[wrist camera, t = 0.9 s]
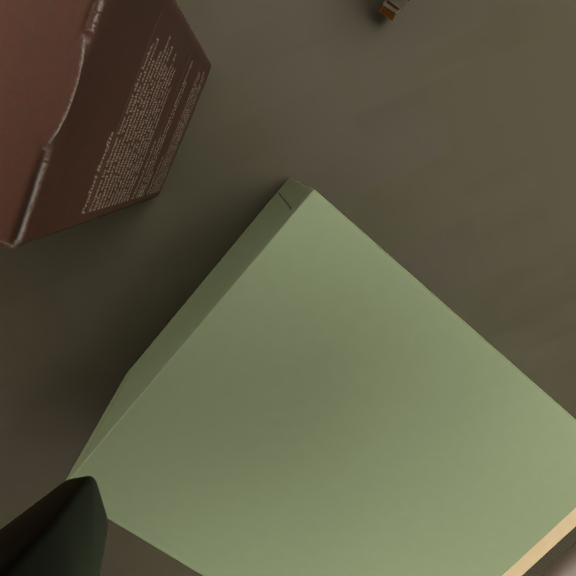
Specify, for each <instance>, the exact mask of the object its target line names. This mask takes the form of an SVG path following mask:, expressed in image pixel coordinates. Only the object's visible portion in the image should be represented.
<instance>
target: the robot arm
mask: <svg viewBox="0 0 576 576" xmlns="http://www.w3.org/2000/svg"><path fill="white" fill-rule="evenodd" d="M107 531H108V520H107V515H106V511H105V508H104V505H103V501H102V498H101V495H100V491H99V488H98V485H97V482H96V480H95V479H94V478H93V477H92V476H84V477H78V478H73V479H69V480H66V481H65V482H63V483H62V484H61V485H59V486H58V487H57V488H55V489H54V490H53V491H51V492H50V493H49V494H47V495H46V496H45V497H43V498H42V499H41V500H39V501H38V502H37V503H35V504H34V505H33V506H31V507H30V508H29V509H27V510H26V511H25V512H23V513H22V514H21V515H19V516H18V517H17V518H15V519H14V520H13V521H11V522H10V523H9V524H7V525H6V526H5V527H3V528H2V529H1V530H0V576H99V575H100V570H101V564H102V559H103V553H104V548H105V542H106V537H107Z"/></svg>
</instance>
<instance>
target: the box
mask: <svg viewBox="0 0 576 576" xmlns="http://www.w3.org/2000/svg"><path fill="white" fill-rule="evenodd" d="M210 67H211V63H210V62H209V60H208V58H207V57H206V55H205V53H204V51H203V49H202V47H201V46H200V44H199V42H198V40H197V39H196V36H195V35H194V33H193V31H192V30H191V28H190V26H189V24H188V23H187V21H186V19H185V17H184V15H183V14H182V12H181V10H180V8H179V7H178V5H177V3H176V1H175V0H0V244H2V245H4V246H6V247H8V248H17V247H19V246H22V245H24V244H26V243H29V242H31V241H34V240H36V239H40V238H42V237H45V236H47V235H50V234H53V233H56V232H59V231H62V230H64V229H67V228H70V227H72V226H75V225H78V224H81V223H84V222H87V221H89V220H92V219H94V218H97V217H100V216H103V215H106V214H108V213H111V212H113V211H117V210H119V209H123V208H125V207H128V206H131V205H133V204H136V203H139V202H142V201H144V200H148V199H151V198H153V197H156V196H157V195H158V194H159V191H160V189H161V187H162V185H163V183H164V180H165V178H166V176H167V173H168V171H169V169H170V166H171V164H172V161H173V159H174V156H175V154H176V152H177V149H178V147H179V145H180V142H181V140H182V138H183V135H184V132H185V130H186V128H187V125H188V123H189V120H190V118H191V115H192V113H193V110H194V108H195V105H196V103H197V100H198V98H199V95H200V93H201V90H202V88H203V86H204V83H205V81H206V78H207V75H208V72H209V70H210Z"/></svg>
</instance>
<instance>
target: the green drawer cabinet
mask: <svg viewBox="0 0 576 576" xmlns="http://www.w3.org/2000/svg"><path fill="white" fill-rule="evenodd" d="M84 476H92V477H93V478H94V479H95V480H96V482H97V485H98V488H99V491H100V495H101V498H102V501H103V505H104V508H105V511H106V515H107V518H108V519H109V520H111V521H113V522H114V523H116V524H118V525H119V526H121V527H123V528H124V529H126V530H128V531H129V532H131V533H133V534H134V535H136V536H138V537H139V538H141V539H143V540H144V541H146V542H148V543H149V544H151V545H153V546H154V547H156V548H158V549H159V550H161V551H163V552H164V553H166V554H168V555H169V556H171V557H173V558H174V559H176V560H178V561H179V562H181V563H183V564H184V565H186V566H188V567H189V568H191V569H193V570H194V571H196V572H198V573H199V574H201V575H203V576H502V575H503V574H504V573H506V572H507V571H508V570H509V569H510V568H511V567H512V566H513V565H514V564H515V563H516V562H517V561H519V560H520V559H521V558H522V557H523V556H524V555H525V554H526V553H527V552H528V551H529V550H530V549H532V548H533V547H534V546H535V545H536V544H537V543H538V542H539V541H540V540H541V539H542V538H543V537H545V536H546V535H547V534H548V533H549V532H550V531H551V530H552V529H553V528H554V527H555V526H556V525H558V524H559V523H560V522H561V521H562V520H563V519H564V518H565V517H566V516H567V515H568V514H569V513H571V512H572V511H573V510H574V509H575V508H576V419H575V418H573V417H572V416H571V415H570V414H569V413H568V412H567V411H566V410H564V409H563V408H562V407H561V406H560V405H559V404H558V403H556V402H555V401H554V400H553V399H552V398H551V397H550V396H548V395H547V394H546V393H545V392H544V391H543V390H542V389H541V388H539V387H538V386H537V385H536V384H535V383H534V382H533V381H531V380H530V379H529V378H528V377H527V376H526V375H525V374H524V373H522V372H521V371H520V370H519V369H518V368H517V367H516V366H514V365H513V364H512V363H511V362H510V361H509V360H508V359H507V358H505V357H504V356H503V355H502V354H501V353H500V352H499V351H497V350H496V349H495V348H494V347H493V346H492V345H491V344H490V343H488V342H487V341H486V340H485V339H484V338H483V337H482V336H480V335H479V334H478V333H477V332H476V331H475V330H474V329H473V328H471V327H470V326H469V325H468V324H467V323H466V322H465V321H463V320H462V319H461V318H460V317H459V316H458V315H457V314H455V313H454V312H453V311H452V310H451V309H450V308H449V307H448V306H446V305H445V304H444V303H443V302H442V301H441V300H440V299H438V298H437V297H436V296H435V295H434V294H433V293H432V292H431V291H429V290H428V289H427V288H426V287H425V286H424V285H423V284H421V283H420V282H419V281H418V280H417V279H416V278H415V277H414V276H412V275H411V274H410V273H409V272H408V271H407V270H406V269H404V268H403V267H402V266H401V265H400V264H399V263H398V262H397V261H395V260H394V259H393V258H392V257H391V256H390V255H389V254H387V253H386V252H385V251H384V250H383V249H382V248H381V247H379V246H378V245H377V244H376V243H375V242H374V241H373V240H372V239H370V238H369V237H368V236H367V235H366V234H365V233H364V232H362V231H361V230H360V229H359V228H358V227H357V226H356V225H355V224H353V223H352V222H351V221H350V220H349V219H348V218H347V217H345V216H344V215H343V214H342V213H341V212H340V211H339V210H338V209H336V208H335V207H334V206H333V205H332V204H331V203H330V202H328V201H327V200H326V199H325V198H324V197H323V196H322V195H321V194H319V193H318V192H317V191H316V190H315V189H313V188H310V187H308V186H306V185H304V184H302V183H300V182H298V181H296V180H294V179H292V178H288V179H287V181H286V182H285V183H284V184H283V185H282V187H281V188H280V189H279V190H278V191H277V193H276V194H275V195H274V196H273V198H272V199H271V200H270V201H269V202H268V204H267V205H266V206H265V207H264V208H263V210H262V211H261V212H260V213H259V214H258V216H257V217H256V218H255V219H254V220H253V222H252V223H251V224H250V225H249V226H248V228H247V229H246V230H245V231H244V232H243V234H242V235H241V236H240V237H239V239H238V240H237V241H236V242H235V243H234V245H233V246H232V247H231V248H230V249H229V251H228V252H227V253H226V254H225V255H224V257H223V258H222V259H221V260H220V261H219V263H218V264H217V265H216V266H215V267H214V269H213V270H212V271H211V272H210V273H209V275H208V276H207V277H206V278H205V280H204V281H203V282H202V283H201V284H200V286H199V287H198V288H197V289H196V290H195V292H194V293H193V294H192V295H191V296H190V298H189V299H188V300H187V301H186V302H185V304H184V305H183V306H182V307H181V308H180V310H179V311H178V312H177V313H176V315H175V316H174V317H173V318H172V319H171V321H170V322H169V323H168V324H167V325H166V327H165V328H164V329H163V330H162V331H161V333H160V334H159V335H158V336H157V337H156V339H155V340H154V341H153V342H152V343H151V345H150V346H149V347H148V348H147V349H146V351H145V352H144V353H143V354H142V356H141V357H140V358H139V359H138V360H137V362H136V363H135V364H134V365H133V366H132V368H131V369H130V370H129V371H128V372H127V374H126V375H125V377H124V379H123V381H122V382H121V384H120V386H119V388H118V389H117V391H116V393H115V395H114V396H113V398H112V400H111V402H110V403H109V405H108V407H107V409H106V410H105V412H104V414H103V416H102V417H101V419H100V421H99V423H98V424H97V426H96V428H95V430H94V431H93V433H92V435H91V437H90V438H89V440H88V442H87V444H86V445H85V447H84V449H83V451H82V452H81V454H80V456H79V458H78V459H77V461H76V463H75V465H74V466H73V468H72V470H71V472H70V473H69V475H68V477H67V479H66V480H69V479H73V478H78V477H84ZM66 480H65V481H66Z"/></svg>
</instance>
